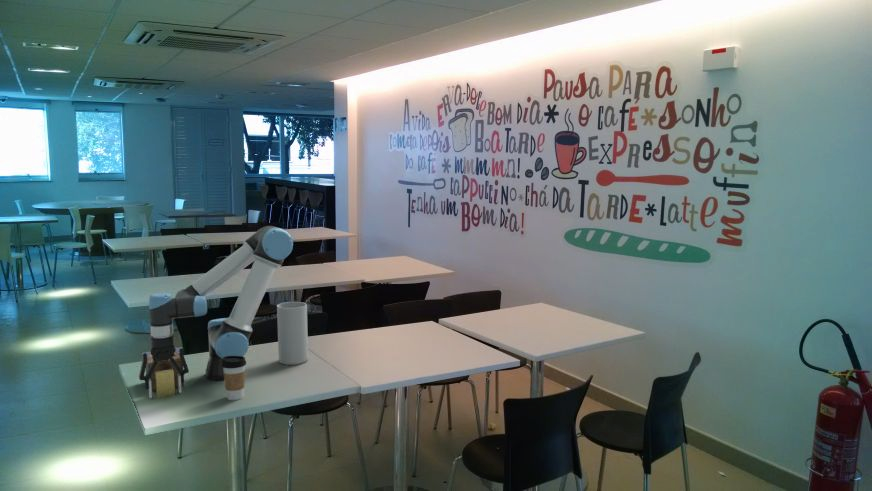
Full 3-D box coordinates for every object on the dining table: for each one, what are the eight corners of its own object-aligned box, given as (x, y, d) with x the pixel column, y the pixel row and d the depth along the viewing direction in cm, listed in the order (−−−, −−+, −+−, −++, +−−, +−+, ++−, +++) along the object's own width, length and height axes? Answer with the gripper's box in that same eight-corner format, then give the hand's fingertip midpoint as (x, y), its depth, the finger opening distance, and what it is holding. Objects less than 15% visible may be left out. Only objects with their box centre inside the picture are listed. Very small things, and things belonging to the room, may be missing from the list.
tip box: (179, 376, 244) (177, 350, 242) (184, 385, 233) (182, 358, 232) (146, 381, 237) (144, 354, 236) (150, 391, 227) (148, 363, 226)
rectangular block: (173, 392, 226) (172, 369, 225) (175, 394, 224) (173, 371, 223) (156, 395, 223) (155, 371, 222) (157, 397, 221) (156, 374, 220)
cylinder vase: (314, 359, 265) (312, 304, 262) (293, 367, 255) (291, 309, 252) (293, 354, 272) (292, 300, 269) (272, 362, 262) (270, 305, 259)
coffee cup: (226, 393, 225) (224, 354, 223) (249, 392, 226) (248, 353, 224) (220, 402, 217) (218, 361, 215) (244, 401, 217) (242, 361, 216)
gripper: (192, 329, 230) (195, 385, 232) (127, 337, 218) (131, 396, 221) (195, 333, 223) (198, 392, 226) (129, 342, 212) (133, 403, 215)
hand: (165, 394), depth 224 cm, fingers open, 9 cm apart
